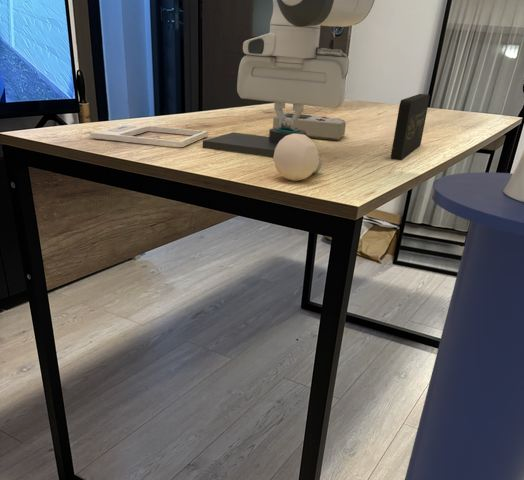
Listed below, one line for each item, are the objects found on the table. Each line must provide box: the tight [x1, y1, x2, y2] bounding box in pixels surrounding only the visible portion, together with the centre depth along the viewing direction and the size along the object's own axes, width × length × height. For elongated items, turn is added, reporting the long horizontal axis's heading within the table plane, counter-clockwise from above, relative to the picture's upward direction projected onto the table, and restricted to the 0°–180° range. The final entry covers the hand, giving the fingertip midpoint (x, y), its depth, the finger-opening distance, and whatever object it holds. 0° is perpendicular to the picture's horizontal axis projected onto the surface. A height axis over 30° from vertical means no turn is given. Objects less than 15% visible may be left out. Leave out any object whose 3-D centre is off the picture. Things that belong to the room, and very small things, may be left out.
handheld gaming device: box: [272, 112, 347, 141], centre depth 117 cm, size 9×15×4 cm, turn 73°
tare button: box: [277, 129, 298, 133], centre depth 102 cm, size 4×4×2 cm
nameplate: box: [390, 93, 431, 161], centre depth 104 cm, size 21×2×10 cm, turn 156°
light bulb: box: [272, 134, 323, 182], centre depth 80 cm, size 7×7×11 cm
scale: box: [202, 127, 306, 158], centre depth 101 cm, size 16×14×3 cm
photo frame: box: [89, 122, 209, 148], centre depth 104 cm, size 15×1×18 cm
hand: (287, 129), depth 102 cm, fingers closed, pressing on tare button
